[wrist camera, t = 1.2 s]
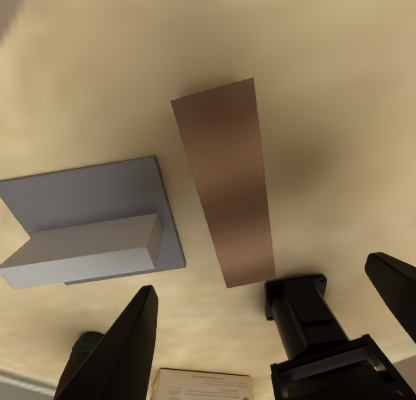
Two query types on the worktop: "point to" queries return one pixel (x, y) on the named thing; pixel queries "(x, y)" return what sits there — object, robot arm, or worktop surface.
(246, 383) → the coffeecake box
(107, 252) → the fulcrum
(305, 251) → the worktop surface
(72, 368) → the potato masher grenade
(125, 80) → the worktop surface
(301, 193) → the worktop surface
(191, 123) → the plank
